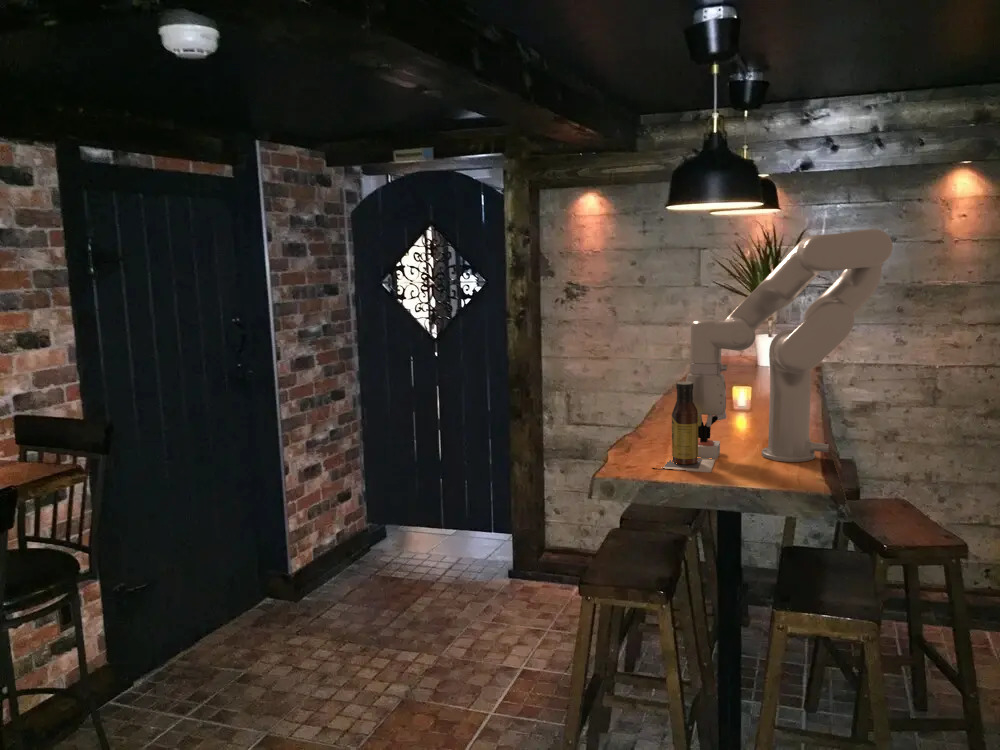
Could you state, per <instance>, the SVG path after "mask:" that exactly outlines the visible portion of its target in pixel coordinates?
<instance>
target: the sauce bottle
mask: <svg viewBox="0 0 1000 750" xmlns="http://www.w3.org/2000/svg"><path fill="white" fill-rule="evenodd" d="M675 388H676V401H675V404H674V407H673V410H672V413H671V456H673V462H674V463H677V464H682V465H691V464H695V463H697V456H698V440H699V438H698V411H697V408H696V407H695V405H694V403H693V382H688V381H686V380H683V381H678V382H676V383H675Z"/></svg>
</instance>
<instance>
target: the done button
mask: <svg viewBox="0 0 1000 750" xmlns="http://www.w3.org/2000/svg"><path fill="white" fill-rule="evenodd" d="M713 441H714V440H712V439H708V440H707V442H704V441H703V442H700V438H698V445H703V446H713Z"/></svg>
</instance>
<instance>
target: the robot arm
mask: <svg viewBox="0 0 1000 750" xmlns="http://www.w3.org/2000/svg"><path fill="white" fill-rule="evenodd" d="M893 247H894V245H893V241H892V238H891V237H890V236H889V234H887V233H886V232H885V231H884V230H881V229H877V228H869V229H868V228H867V229H860V230H856V231H847V232H840V233H827V234H816V235H815V234H813V235H809V236H806V237H804V238H802V239H801V240H800V241H799V242H798V243H797V244H796V245H795V246H794V247H793V249H791V250H790V251H789V253H787V255H786V256H785V257H784V258H783V259H782V261H781V262H779V264H778V265H777V266H776V267H775V268H774V269H773V270H772V271H771V272H770V273H769V274H768V275H767V276H766V277H765V278H764V280H762V281H761V282H760V283H759V284H758V285H757V286H756V288H755V289H753V291H751V293H750V294H749V295H748V296H746V298H745V299H743V300H742V302H741V303H739V305H738V306H737V307H736V308H735V309H734V310H733V311H732V312H731V313H730V315H728V316H727V318H725V320H724V321H719V320H717V319H696V320H694V321H692V322H691V325H690V346H689V347H690V348H689V349H690V350H689V353H690V355H689V358H690V359H689V361H690V362H689V373H687V374H686V378H685V379H686V380H685V381H688V382H693V403H694V405H695V407H696V408H697V411H698V439H700V442H703V441H704V442H707V440H711V427H712V426H713V424H714V423H716V422H717V421H722V420H726V419H727V413H726V408H727V393H726V392H727V387H726V381H725V379H726V378H725V374H722V372H724V371H728V365H725V364H723V363H722V349H723V350H728V351H729V350H730V351H736V352H738V351H745V350H748V349H749V348H750V347H752V346H753V344H754V343H755V340H756V330H757V329H758V328H759V327H760V326H761V325H762V324H763V323H764V322H765V321H766V320H768V318H770V317H771V316H772V315H774V313H776V312H777V311H780V310H782V309H784V308H786V307H788V306H789V305H790V304H792V303H793V302H794V301H795V300H796V299H797V297H798V296H800V294H801V293H802V292H803V291H804V290H805V289H806V288H807V287H808V285H810V283H811V282H813V280H815V279H816V277H817V276H818V275H819V274H820V273H822V272H834V271H842V273H841V274H840V275H839V276H838V278H837V279H836V280H835V281H834V282H832V284H831V286H829V287H828V288H827V289H826V290H825V291H824V292H823V293H822V294H820V296H819V297H818V298H816V299H815V300H814V301H813V302H812V303H811V304H810V305H809V306H808V307H807V308H806V310H805V312H804V315H803V316H804V317H803V320H804V321H803V322H801V323H800V324H799V325H798V326H797V327H796V328H795V329H785V330H782V331H780V332H779V333H777V334H776V335H775V336H774V337H773V339H772V340H771V342H770V345H769V350H768V358H769V362H768V363H769V404H768V405H769V407H768V409H769V410H768V440H767V441H768V447H767V446H766V447H764V448H762V450H761V456H763V457H764V458H765V459H769V460H773V461H777V462H786V463H788V462H789V463H801V462H804V463H805V462H810V461H812V460H814V459H816V453H815V452H820V453H829V451H830V449H829V448H830V447H829V444H828V443H823V442H814V441H811V436H810V422H811V421H810V420H811V419H810V418H811V416H810V415H811V396H812V393H811V391H812V378H811V377H812V376H811V375H812V374H811V370H813V369H814V368H815V367H817V365H819V364H820V363H821V362H822V361H823V360H825V358H827V356H828V355H830V354H831V353H832V352H833V351H834V350H835V349H836V348H837V347H838V346H839V345H840V344H841V343H842V342H843V341H844V340H845V339H846V338H847V337H848V336H849V334H850V333H851V332H852V330H853V327H854V325H855V313H856V312H857V311H859V310H860V309H861V307H863V305H864V304H865V303H866V302H867V301H868V300H869V299H870V297H872V296H873V294H874V293H875V291H876V290H877V288H878V286H879V284H880V281H881V278H882V272H883V271H882V270H883V263H885V262H887V261H888V259H889V258H890V257H891V255H892V253H893ZM702 415H704V416H707V418H706V422H705V423H704V422H703V416H702Z"/></svg>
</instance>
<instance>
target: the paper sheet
mask: <svg viewBox="0 0 1000 750" xmlns="http://www.w3.org/2000/svg"><path fill="white" fill-rule="evenodd" d="M715 462H716V459H709V458H697V463H695V464H691V465H682V464H676V463H673V460H672V462H671V460H670V461H669V462H667V464H665V466H664V467H663V468H665V469H676V470H675V471H680V470H686V471H685V472H696V473H699V472H700V473H712V470H713V468H714V464H715ZM661 468H662V467H661ZM665 469H664V470H665ZM677 469H678V470H677Z"/></svg>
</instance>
